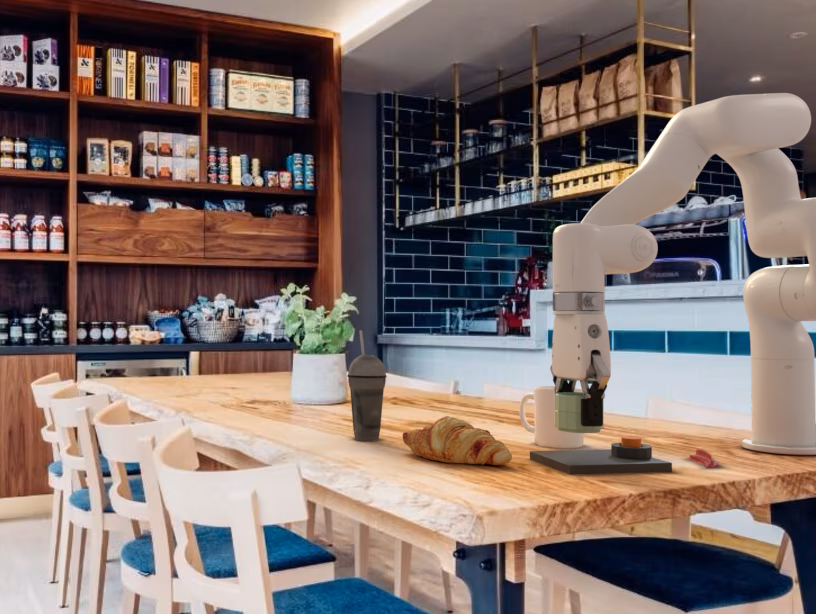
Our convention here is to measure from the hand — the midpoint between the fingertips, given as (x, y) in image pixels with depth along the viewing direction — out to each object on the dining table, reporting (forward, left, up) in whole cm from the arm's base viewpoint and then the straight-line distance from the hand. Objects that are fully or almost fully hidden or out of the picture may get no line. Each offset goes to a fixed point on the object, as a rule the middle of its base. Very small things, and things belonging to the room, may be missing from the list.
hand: (578, 421), depth 125 cm
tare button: (-9, 0, -4) cm, 10 cm away
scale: (-3, 0, -7) cm, 7 cm away
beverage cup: (+25, -32, -7) cm, 41 cm away
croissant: (+17, -8, -7) cm, 20 cm away
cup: (-6, -22, -7) cm, 24 cm away
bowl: (0, 0, -1) cm, 1 cm away
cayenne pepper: (-21, 0, -7) cm, 22 cm away
